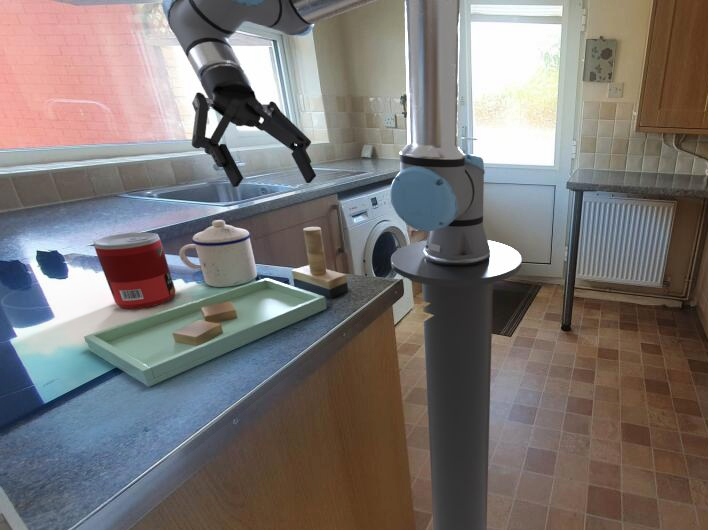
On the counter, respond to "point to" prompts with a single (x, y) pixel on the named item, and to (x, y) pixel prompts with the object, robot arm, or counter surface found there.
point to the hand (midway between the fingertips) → (277, 181)
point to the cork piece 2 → (219, 312)
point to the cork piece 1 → (197, 333)
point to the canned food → (135, 269)
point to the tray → (156, 330)
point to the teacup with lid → (223, 255)
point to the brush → (318, 269)
